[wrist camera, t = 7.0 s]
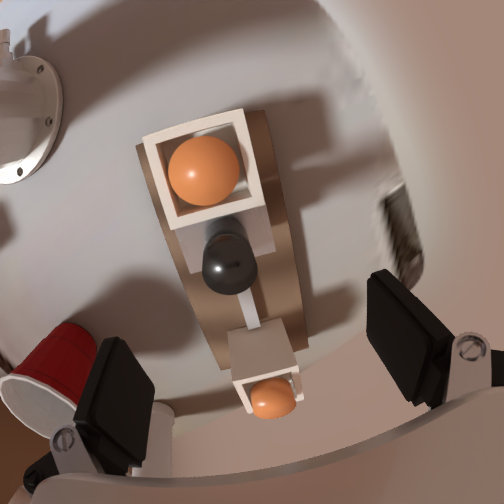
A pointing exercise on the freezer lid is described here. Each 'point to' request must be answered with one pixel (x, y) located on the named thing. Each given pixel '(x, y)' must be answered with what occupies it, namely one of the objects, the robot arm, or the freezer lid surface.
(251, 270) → the carriage
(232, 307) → the rail board
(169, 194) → the pair of ball holders
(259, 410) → the gauge button
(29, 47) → the freezer lid surface
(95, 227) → the freezer lid surface
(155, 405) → the bottle
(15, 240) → the freezer lid surface
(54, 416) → the plastic cup
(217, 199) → the ball
